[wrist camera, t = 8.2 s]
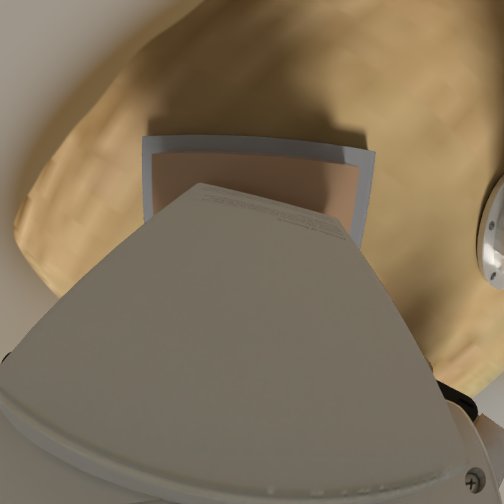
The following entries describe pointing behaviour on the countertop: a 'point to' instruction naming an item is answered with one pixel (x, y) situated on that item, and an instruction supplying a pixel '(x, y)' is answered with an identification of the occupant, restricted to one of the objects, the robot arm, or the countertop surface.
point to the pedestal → (261, 173)
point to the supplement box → (234, 365)
